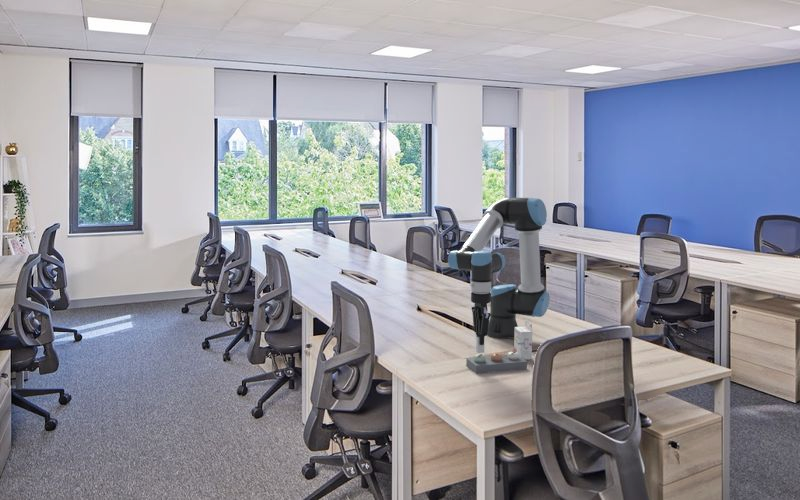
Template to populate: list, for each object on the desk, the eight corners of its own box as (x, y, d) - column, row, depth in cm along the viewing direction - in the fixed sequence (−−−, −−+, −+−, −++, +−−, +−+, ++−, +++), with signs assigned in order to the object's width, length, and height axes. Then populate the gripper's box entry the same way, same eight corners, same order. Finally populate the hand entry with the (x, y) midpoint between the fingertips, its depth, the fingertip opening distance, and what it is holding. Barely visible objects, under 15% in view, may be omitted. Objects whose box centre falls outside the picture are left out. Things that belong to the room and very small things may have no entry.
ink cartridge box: (513, 354, 263) (514, 319, 261) (524, 353, 264) (525, 319, 262) (520, 360, 255) (521, 324, 253) (532, 359, 256) (533, 324, 254)
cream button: (515, 356, 250) (516, 350, 250) (520, 359, 246) (521, 353, 245) (505, 357, 249) (505, 351, 248) (510, 360, 244) (510, 354, 244)
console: (515, 361, 253) (515, 354, 253) (527, 368, 244) (527, 361, 243) (466, 365, 248) (466, 358, 247) (476, 373, 238) (476, 365, 238)
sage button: (482, 358, 246) (482, 353, 246) (487, 362, 242) (487, 356, 242) (472, 359, 245) (472, 354, 245) (476, 363, 241) (476, 357, 240)
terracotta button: (499, 357, 248) (499, 352, 248) (504, 360, 244) (504, 355, 243) (489, 358, 247) (489, 352, 247) (493, 361, 243) (493, 356, 242)
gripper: (465, 289, 245) (464, 348, 249) (478, 295, 233) (477, 358, 236) (483, 288, 247) (482, 346, 250) (497, 294, 235) (496, 356, 238)
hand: (480, 352), depth 243 cm, fingers closed
